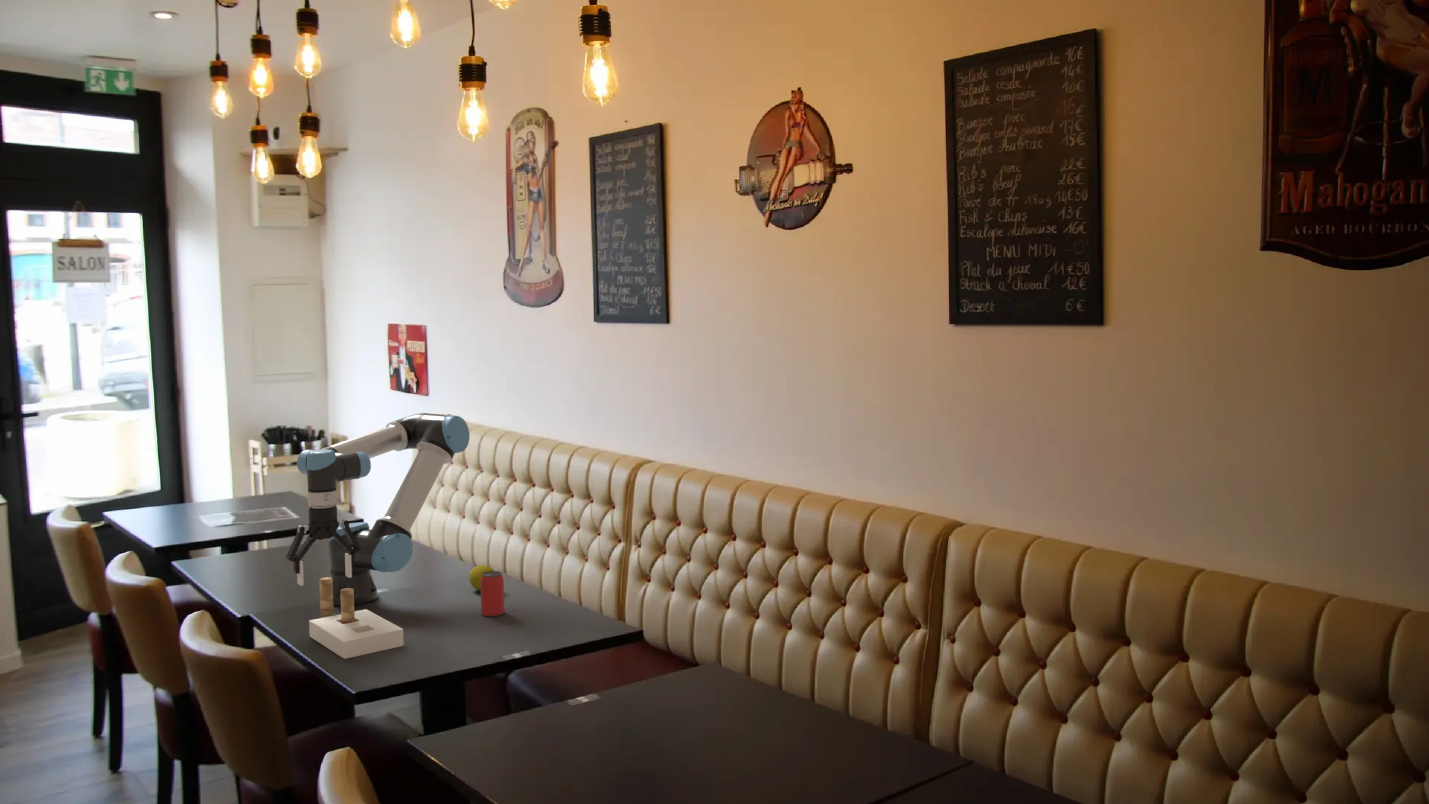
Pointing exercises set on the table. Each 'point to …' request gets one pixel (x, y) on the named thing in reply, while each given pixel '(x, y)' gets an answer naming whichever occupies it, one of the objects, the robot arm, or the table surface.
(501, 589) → the beer can
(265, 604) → the table surface
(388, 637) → the off-white board
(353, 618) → the seated peg
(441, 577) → the table surface
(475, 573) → the lemon
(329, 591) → the honey-oak peg
